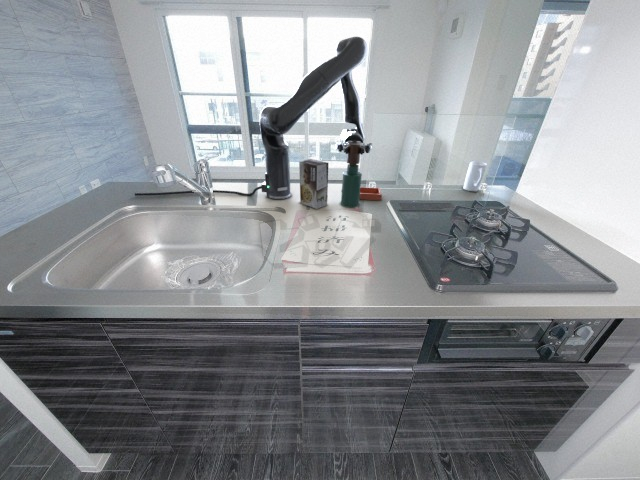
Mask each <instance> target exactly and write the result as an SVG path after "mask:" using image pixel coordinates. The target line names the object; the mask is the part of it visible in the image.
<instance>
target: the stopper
mask: <svg viewBox="0 0 640 480" xmlns="http://www.w3.org/2000/svg"><path fill="white" fill-rule="evenodd" d="M360 151H361V144H360V143H348V154H346V163H347V164H349V166H354V167H355V166H356V165H358V164H360V163H361V162H360V161H361V154H360Z"/></svg>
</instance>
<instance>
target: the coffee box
mask: <svg viewBox="0 0 640 480" xmlns="http://www.w3.org/2000/svg"><path fill="white" fill-rule="evenodd" d="M298 163H299V166H298V167H299V169H298V170H299V199H300V200H299V201H300V202H299V203H300V204H302V205H305V206H308V207H310V208H313V209H316V210H318V209H320V208H323V207H326V206H328V194H329V193H328V191H329V190H328V188H329V187H328V186H329V162H328V161H323V160H318V159H313V158H309V159H303V160H301V161H299V162H298Z"/></svg>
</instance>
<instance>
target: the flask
mask: <svg viewBox="0 0 640 480" xmlns="http://www.w3.org/2000/svg"><path fill="white" fill-rule="evenodd" d="M359 166H360V165H358V164H356V166H355V167H354V166H349V163H347V166H346V167H347V168H346V171H344V172H342V185H341V200H340V205H341V206H342V207H344V208H345V207H346V208H357V207H358V206H359V203H360V199H359V196H360V187H362V186H361V185H362V177H363V175H362V173H361V172H360V171H359Z"/></svg>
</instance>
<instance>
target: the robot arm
mask: <svg viewBox="0 0 640 480" xmlns="http://www.w3.org/2000/svg"><path fill="white" fill-rule="evenodd" d="M367 52H368V45H367V41H366V40H365V39H364V38H362V37H361V36H351V37H347V38H344V39H342V40H340V41H339V42H338V43H337V45H336V48H335V56H334V57H332V58H330V59H328V60H326V61H324V62H322V63H320V64H318V65H317V66H315V67H314V68H312V69H311V70H310V71H309V72H308V73H307V74H306V75H305V76H303V78H302V79H301V80H300V82H299V84H298V85H297V89H296V90H295V92H294V94H292V96H290V97H289V99H287V100H286V101H284V103H283V102H282V104H280V105H266V106H264V107H263V108H262V109H261V111H260V114H259V129H260V137H261V138H260V139H261V143H262V147H263V149H264V161H265V174H264V178H265V179H264V181H263V182H262V183H261V185H260V186H257V187H256V188H254V189H253V191H252V192H250V193H245V192H240V191H236V190H235V191H234V190H233V191H232V190H218V189H217V190H216V189H212V190H213V193H214V194H215V193H216V194H230V195H231V194H232V195H240V196H246V197H249V196H250V197H252V196H254V195H255V194H256V192H257V191H259V190H261V192H262V193H266V194H265V195H266V198H269V199H272V200H287V199H289V198H290V197H291V195H292V192H291V168H290V167H291V166H290V165H291V164H290V146H289V144H288V143H287V142H286V140H285V138H284V135H285V134H287V133H288V132H289V131H291V130H292V129H293V127H295V125H296V124H297V123H298V121H300V119H301V118H302V117H303V115H305V113H306V112H308V111H309V110H310V109H311V108H312V107H313V106H314V105H315V104H316V103H318V102H319V101H320V100H321V99H322V98H323V97H324V96H325V95H326V94H327V93H328V92H329V91H330V90H332V89H333V88H334V87H335V86H336V84H338V83H339V82H340V88H341V93H342V102H343V103H342V105H343V120H344V123H346V124H352V125H354V126H355V127H353V128H345V129H343V130H342V132H341V134H340V141H341V142H340V141H336V142H335V150H336V151H338V152H340V153H342V152H343V153H345V155H347V154H348V143H360V144H361V151H360V156H362V155H363V154H369V153H371V152H372V150H373V143H371V142H370V143H367V144H365V143H364V142H365V138H366V137H365V131H364V129H363V126H362V121H361V102H360V101H361V100H360V97H359V93H358V90H357V88H356V86H355V84H354V80H353V73H352V71H353V70H355V68H357V67H358V66H360V65H361V64H362V63H363V62H364V61H365V59H366V56H367ZM192 191H193V190H180V191H166V192H165V191H164V192H163V191H162V192H134V196H136V197H137V196H138V197H139V196H140V197H141V196H143V197H144V196H167V195H183V194H184V195H185V194H195V193H194V192H192ZM213 193H212V194H213Z"/></svg>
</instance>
